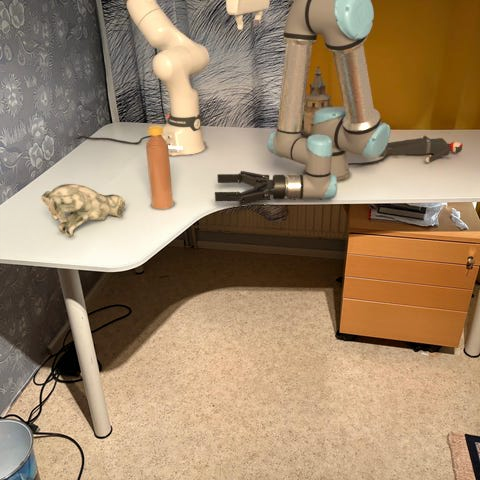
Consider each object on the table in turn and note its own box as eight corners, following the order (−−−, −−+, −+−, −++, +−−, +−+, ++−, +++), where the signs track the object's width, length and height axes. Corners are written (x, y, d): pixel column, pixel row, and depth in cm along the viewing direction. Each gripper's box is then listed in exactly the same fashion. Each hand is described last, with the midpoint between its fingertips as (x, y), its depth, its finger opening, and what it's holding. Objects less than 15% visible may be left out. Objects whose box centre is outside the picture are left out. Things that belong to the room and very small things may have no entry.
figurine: (85, 253, 150) (138, 211, 159) (47, 199, 141) (105, 158, 150) (72, 248, 157) (123, 208, 166) (34, 197, 148) (90, 157, 157)
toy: (379, 128, 216) (458, 128, 210) (378, 143, 219) (456, 144, 213) (380, 150, 194) (469, 151, 187) (379, 166, 197) (466, 168, 190)
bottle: (167, 198, 173) (160, 123, 161) (176, 205, 168) (170, 129, 156) (148, 203, 170) (140, 127, 158) (157, 211, 165) (149, 133, 153)
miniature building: (320, 132, 228) (325, 59, 214) (338, 142, 217) (344, 66, 203) (293, 137, 224) (296, 63, 209) (310, 147, 213) (314, 69, 198)
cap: (159, 130, 160) (158, 124, 159) (165, 134, 157) (164, 127, 156) (146, 133, 158) (145, 126, 157) (152, 136, 155) (151, 130, 154)
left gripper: (258, -23, 176) (258, 22, 183) (222, -18, 162) (223, 30, 169) (274, -22, 173) (273, 23, 180) (239, -18, 159) (239, 32, 166)
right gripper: (287, 216, 155) (214, 216, 156) (283, 182, 177) (219, 182, 177) (288, 192, 152) (213, 193, 152) (283, 160, 173) (218, 161, 174)
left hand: (249, 27), depth 174 cm, fingers open, 8 cm apart
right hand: (216, 187), depth 165 cm, fingers open, 13 cm apart
